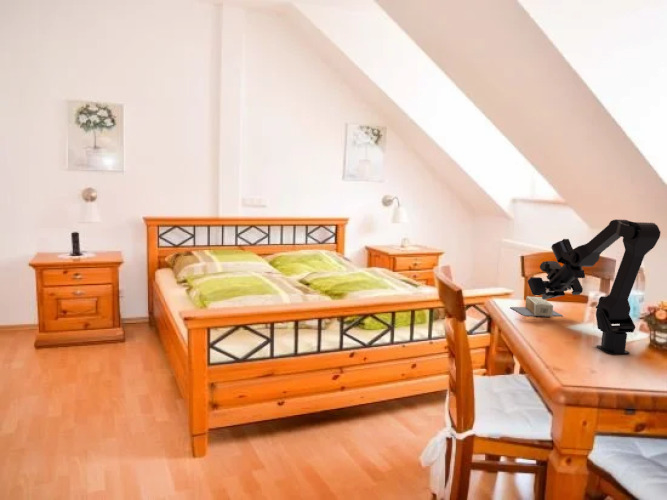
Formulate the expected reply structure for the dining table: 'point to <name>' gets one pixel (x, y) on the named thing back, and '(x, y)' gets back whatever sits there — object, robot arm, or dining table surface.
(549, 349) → the dining table surface
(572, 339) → the dining table surface
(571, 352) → the dining table surface
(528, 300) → the skincare box
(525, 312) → the felt mat
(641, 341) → the dining table surface
